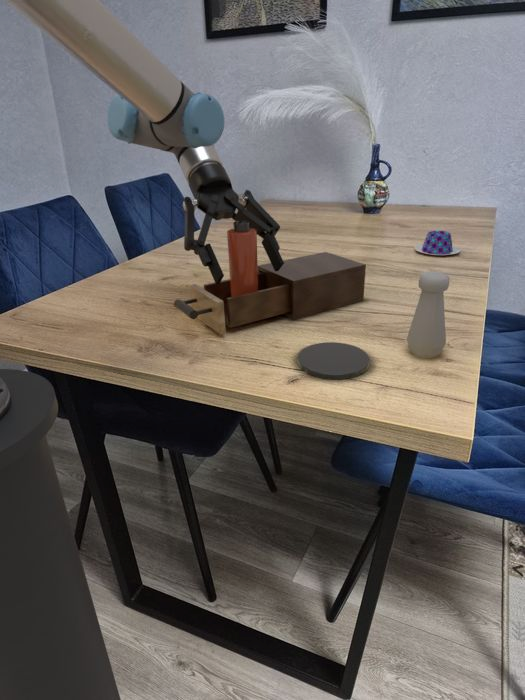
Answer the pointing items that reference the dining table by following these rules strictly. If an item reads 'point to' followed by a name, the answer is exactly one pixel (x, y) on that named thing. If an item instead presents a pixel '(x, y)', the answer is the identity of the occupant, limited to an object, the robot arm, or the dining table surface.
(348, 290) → the cabinet
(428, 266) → the dining table surface
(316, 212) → the dining table surface
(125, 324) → the dining table surface
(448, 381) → the dining table surface
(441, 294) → the salt shaker
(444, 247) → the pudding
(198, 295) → the drawer
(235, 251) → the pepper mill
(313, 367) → the coaster
